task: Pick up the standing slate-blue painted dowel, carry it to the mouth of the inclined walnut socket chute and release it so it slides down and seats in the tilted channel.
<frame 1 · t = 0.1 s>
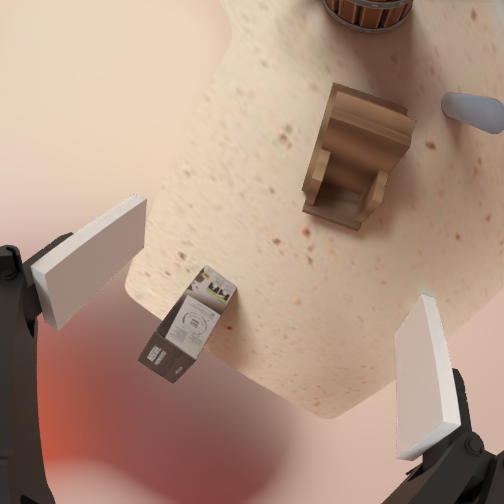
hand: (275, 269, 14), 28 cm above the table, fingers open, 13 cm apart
socket block: (353, 148, 36), on the table
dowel: (452, 105, 30), on the table
coffee box: (209, 291, 54), on the table
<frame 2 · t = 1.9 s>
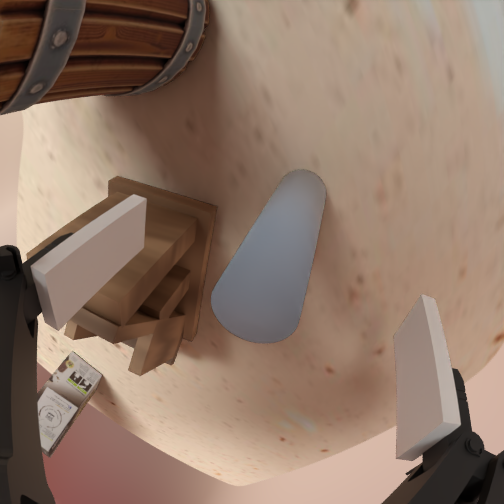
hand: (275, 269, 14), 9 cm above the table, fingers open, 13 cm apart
socket block: (158, 262, 28), on the table
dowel: (302, 192, 21), on the table
coffee box: (84, 371, 46), on the table
mug: (122, 17, 18), on the table
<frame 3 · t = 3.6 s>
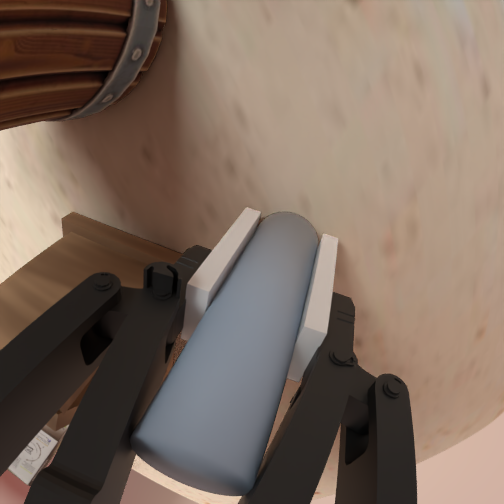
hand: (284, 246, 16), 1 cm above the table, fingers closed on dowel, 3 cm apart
socket block: (124, 309, 23), on the table
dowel: (286, 241, 16), on the table, touching gripper
coffee box: (65, 401, 41), on the table
mug: (72, 21, 13), on the table
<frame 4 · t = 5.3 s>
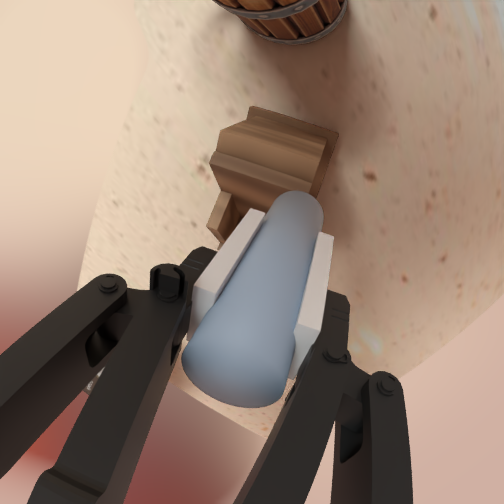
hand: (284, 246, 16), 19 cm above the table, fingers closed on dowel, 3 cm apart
socket block: (276, 180, 34), on the table
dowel: (296, 216, 19), point 15 cm above the table, touching gripper
when the fingers open (12 cm above the table, at t = 7.1 s): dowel drops 6 cm and tips over, resting on socket block.
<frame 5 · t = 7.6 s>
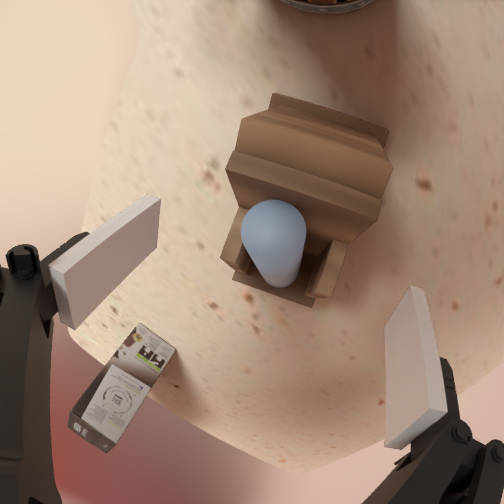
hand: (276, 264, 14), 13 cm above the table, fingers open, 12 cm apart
socket block: (307, 190, 26), on the table
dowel: (280, 269, 28), point 3 cm above the table, tilted 42°, touching socket block
coffee box: (148, 348, 44), on the table
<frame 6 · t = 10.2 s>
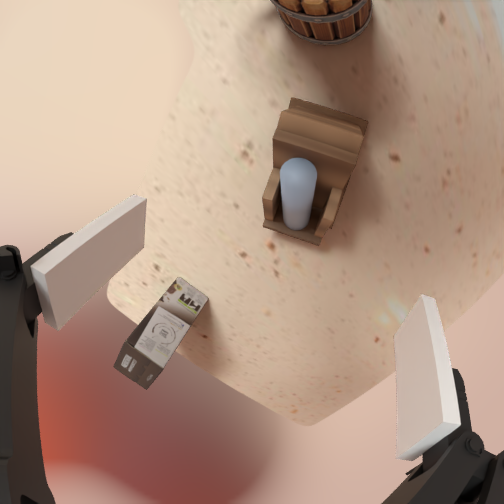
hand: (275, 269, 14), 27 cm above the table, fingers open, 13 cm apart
socket block: (314, 162, 38), on the table
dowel: (296, 217, 39), point 3 cm above the table, tilted 42°, touching socket block
coffee box: (183, 301, 55), on the table
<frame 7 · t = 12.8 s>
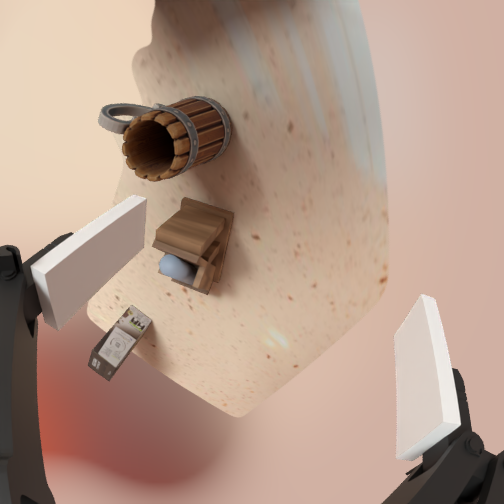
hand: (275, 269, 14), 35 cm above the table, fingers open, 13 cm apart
socket block: (202, 240, 57), on the table
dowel: (192, 276, 59), point 3 cm above the table, tilted 42°, touching socket block
coffee box: (136, 321, 75), on the table
mug: (188, 120, 47), on the table
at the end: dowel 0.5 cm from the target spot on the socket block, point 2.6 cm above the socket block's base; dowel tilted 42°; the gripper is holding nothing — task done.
